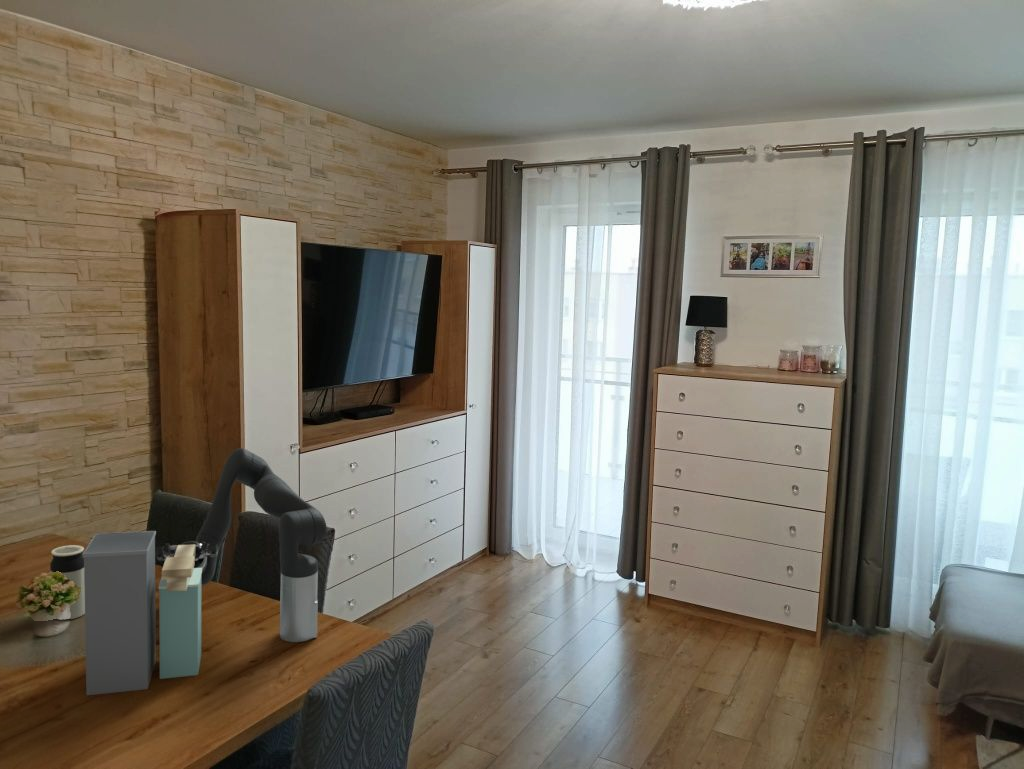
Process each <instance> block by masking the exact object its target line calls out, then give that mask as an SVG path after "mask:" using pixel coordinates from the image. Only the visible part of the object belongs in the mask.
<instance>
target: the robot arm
mask: <svg viewBox="0 0 1024 769" xmlns="http://www.w3.org/2000/svg"><path fill="white" fill-rule="evenodd" d="M236 481H237V482H239V483H240V484H243V485H245V486H246V487H249V488H251V489H252V490H253V491H254V492H253V497H254V499H255V502H256V503H257V505H258V506H259V507H260V508H261V509H262V510H263V511H264V512H265V513H266V514H268V515H269V516H272V517H275V518H277V519H279V522H278V535H279V536H278V539H279V540H278V541H279V561H280V592H279V593H280V595H279V596H280V601H279V603H280V604H279V606H280V608H279V611H280V612H279V638H281V639H282V640H283V641H286V642H291V643H300V642H306V641H309V640H312V639H315V638H318V617H319V616H318V615H319V614H318V612H319V611H318V608H319V607H318V606H319V603H318V584H319V583H318V579H319V576H318V575H319V574H318V573H319V561H318V560H317V558H315V557H314V556H312V555H309V554H303V553H299V551H298V550H299V548H301V547H308V546H312V545H316V544H320V543H321V542H322V541H324V539H325V538H326V535H327V532H328V531H327V530H328V528H327V523H326V519H325V518H324V515H323V514H322V513H321V511H320V510H318V509H317V508H316V507H315V506H313V505H312V504H310V503H309V502H307V501H306V500H304V499H303V498H302V497H300V496H299V495H298V493H296V492H295V491H294V490H293V489H292V488H291V487H290V486H289V484H287V483H286V481H284V480H283V479H282V478H281V477H280V476H278V475H276V474H275V473H274V472H273V470H272V468H271V467H270V465H269V464H268V462H266V460H265V459H264V458H262V457H260V456H258V455H257V454H255V453H253V452H252V451H250V450H248V449H245V448H242V447H240V448H236V449H235V450H233V451H232V452H231V454H229V456H228V458H227V460H226V462H225V464H224V466H223V469H222V471H221V475H220V477H219V481H218V484H217V486H216V489H215V492H214V496H213V499H212V503H211V506H210V508H209V510H208V513H207V515H206V518H205V520H204V521H203V523H202V526H201V528H200V529H199V532H198V534H197V536H196V539H195V541H194V540H188V541H184V542H182V543H181V544H180V545H191V544H195V565H194V568H202V574H201V586H204V585H207V584H209V583H210V582H211V581H212V580H213V578H214V576H215V574H216V567H217V563H218V562H217V560H218V557H219V552H220V548H221V547H222V545H223V543H224V540H225V538H226V536H227V533H228V531H229V529H230V527H231V523H232V503H231V499H232V498H231V497H232V490H233V486H234V484H235V482H236ZM178 545H179V544H178ZM178 545H177V544H173V545H171V544H170V543H165V545H163V546H156V552H155V558H156V559H157V560H158V561H159V562H162V561H163V562H164V561H165V560H166V558H167V557H174V556H175V553H176V550H177V547H178Z"/></svg>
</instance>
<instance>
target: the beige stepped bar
mask: <svg viewBox="0 0 1024 769" xmlns="http://www.w3.org/2000/svg"><path fill="white" fill-rule="evenodd" d="M194 565H195V544H191V545H181V544H178V547H177V550H176V553H175V556H174V557H166V559H165V560H164V563H163V566H162V569H161V578H162V579H167V592H171V591H186V590H187V586H188V583H189V579H190V577H192V573H193V569H194Z"/></svg>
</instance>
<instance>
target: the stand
mask: <svg viewBox="0 0 1024 769" xmlns="http://www.w3.org/2000/svg"><path fill="white" fill-rule="evenodd" d="M156 535H157V531H156V530H145V531H144V530H143V531H123V532H122V531H121V532H103V533H100V532H99V533H96V534H95V535H94V536H93V538H92V539H91V541H90V542H89V543H88V545H87V547H86V548H85V549H84V551H83V553H82V555H83V558H84V585H85V614H84V624H85V626H84V627H85V628H84V629H85V630H84V631H85V632H84V633H85V681H86V683H85V684H86V685H85V686H86V696H94V695H104V694H113V693H123V692H132V691H141V690H143V691H144V690H148V688H149V686H150V682H151V678H152V675H153V671H154V667H155V664H156V661H157V660H156V659H157V658H156V655H157V652H156V650H157V649H156V647H157V646H156V642H157V641H156V640H157V639H156Z"/></svg>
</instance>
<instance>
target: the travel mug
mask: <svg viewBox="0 0 1024 769" xmlns="http://www.w3.org/2000/svg"><path fill="white" fill-rule="evenodd" d="M84 551H85V547H84V546H82V545H78V544H77V545H76V544H69V545H63V546H58V547H56V548H54V549H52V550H51V551H50V554H51V555H52V560H51V561H50V571H49V572H50V575H51V573H53V572H56V571H59V572H61V573H62V574H64V575H65V577H66V578H67V579H69V580H71V581H74V582H75V584H76V585H77V587H81V592H80V594H79V598H78V600H77V601H76V602H75V603H74V604H72V605H71V607H70V612H71V620H74V619H77V618H81V617H82V616H84V615H85V585H84V558H83V553H84Z"/></svg>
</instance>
